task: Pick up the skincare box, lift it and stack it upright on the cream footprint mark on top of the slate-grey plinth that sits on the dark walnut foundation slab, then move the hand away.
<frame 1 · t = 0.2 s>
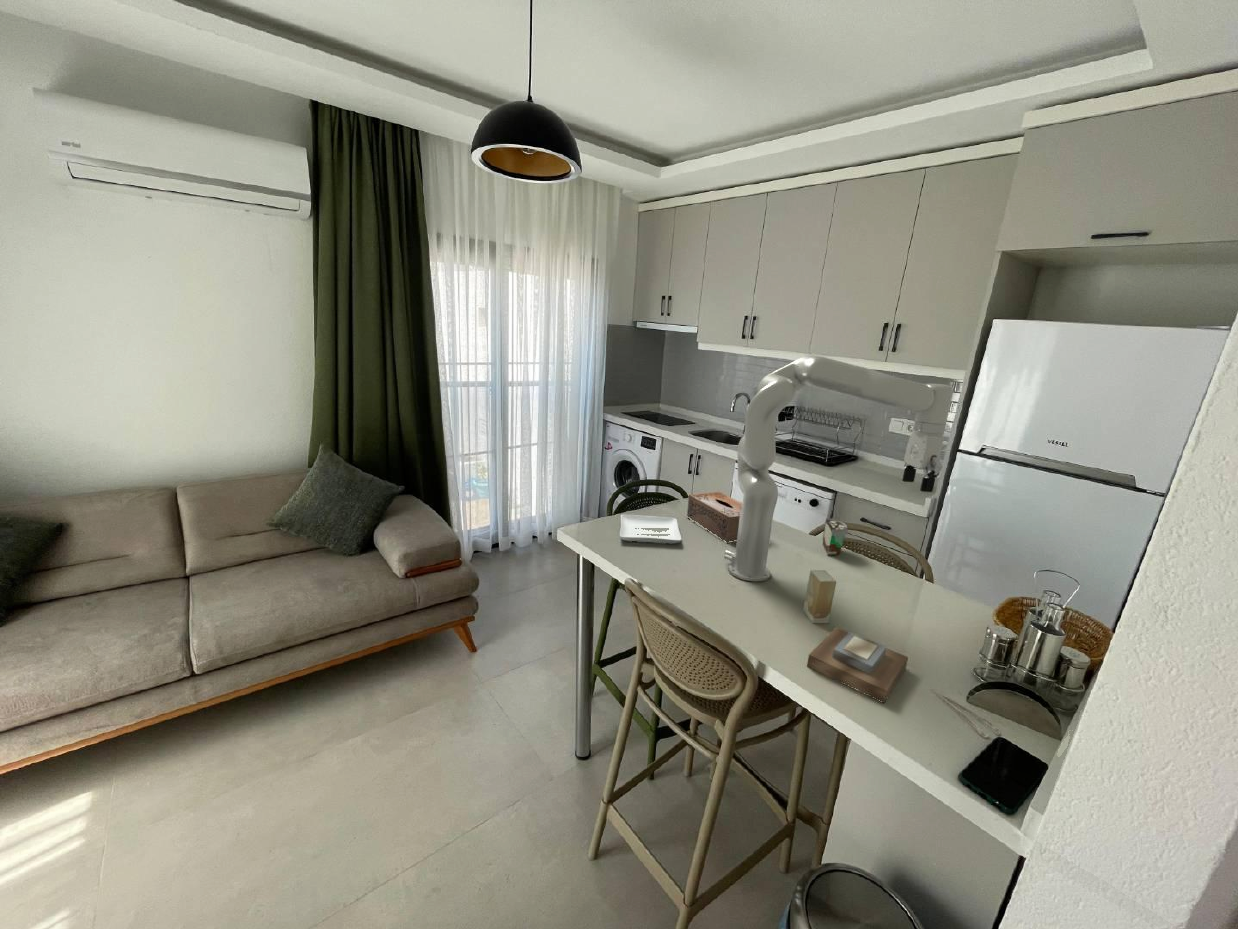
hand: (916, 486, 147), 31 cm above the breakfast bar, tool pointing down, fingers open, 9 cm apart
tweezers: (950, 708, 103), on the breakfast bar
salad plate: (649, 535, 182), on the breakfast bar
food container: (834, 552, 176), on the breakfast bar
foundation: (856, 667, 113), on the breakfast bar
tissue box cover: (721, 529, 192), on the breakfast bar
skincare box: (815, 618, 133), on the breakfast bar
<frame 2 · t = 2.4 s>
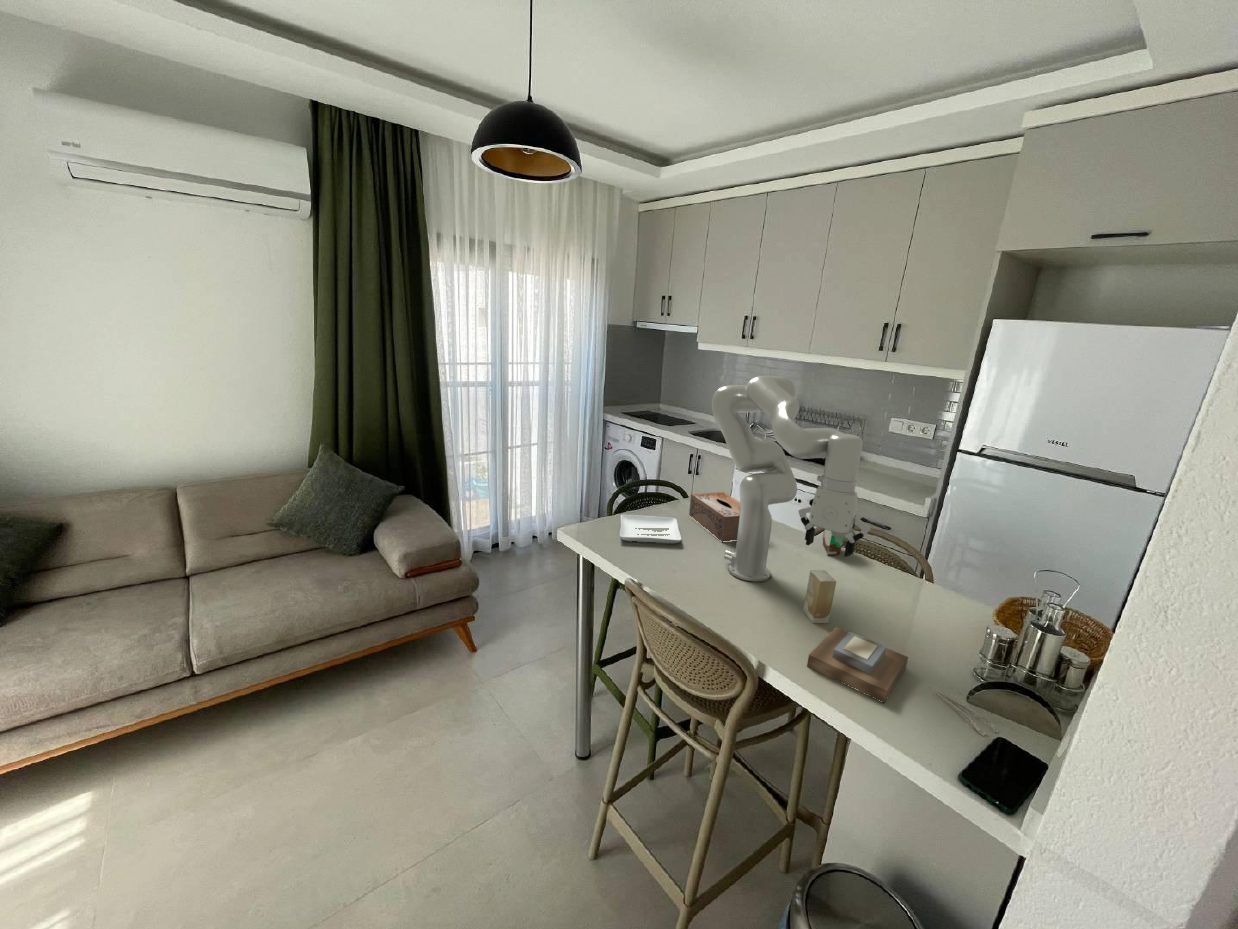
hand: (828, 549, 128), 19 cm above the breakfast bar, tool pointing down, fingers open, 9 cm apart
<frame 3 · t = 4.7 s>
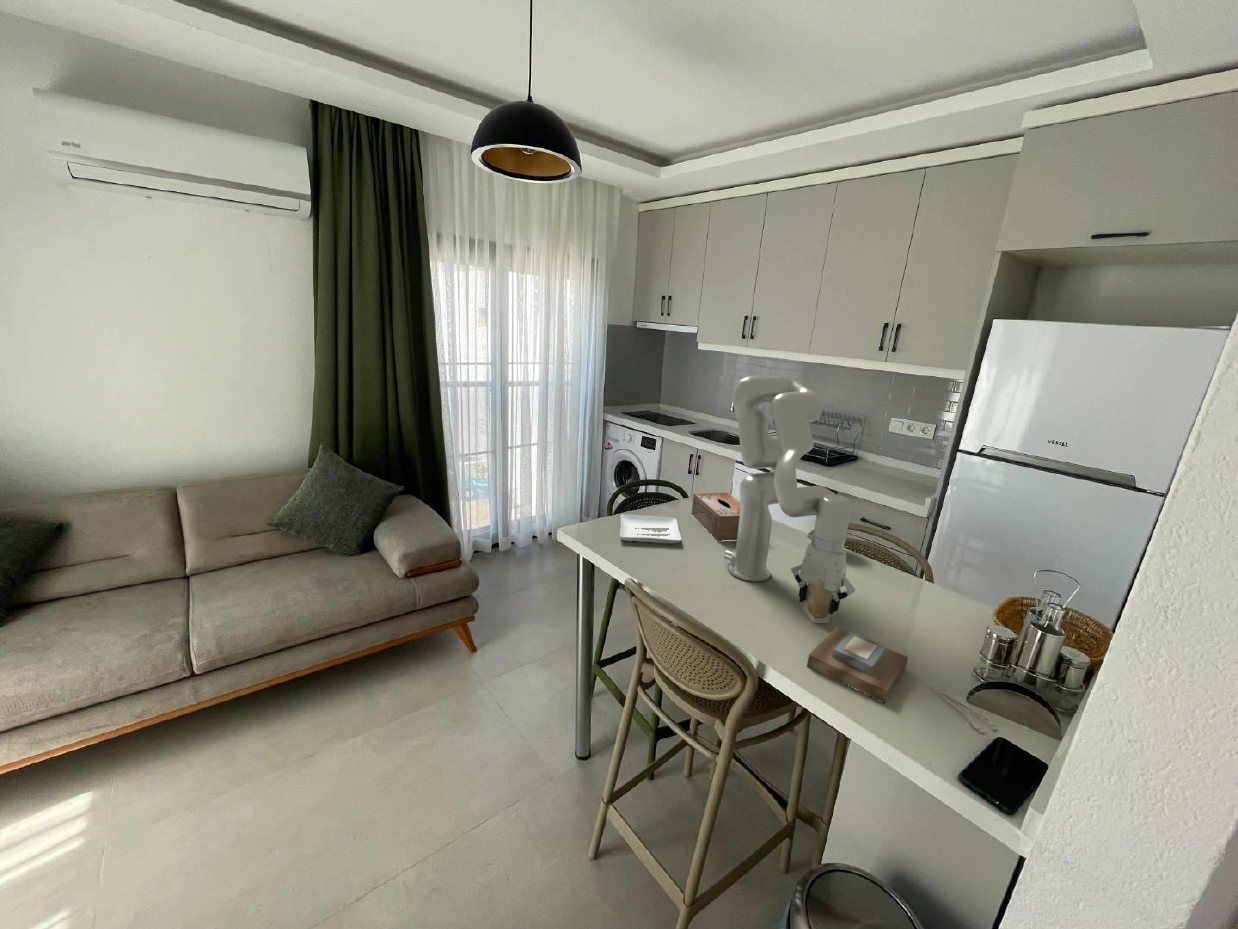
hand: (817, 606, 132), 3 cm above the breakfast bar, tool pointing down, fingers closed on skincare box, 7 cm apart
skincare box: (815, 618, 133), on the breakfast bar, touching gripper
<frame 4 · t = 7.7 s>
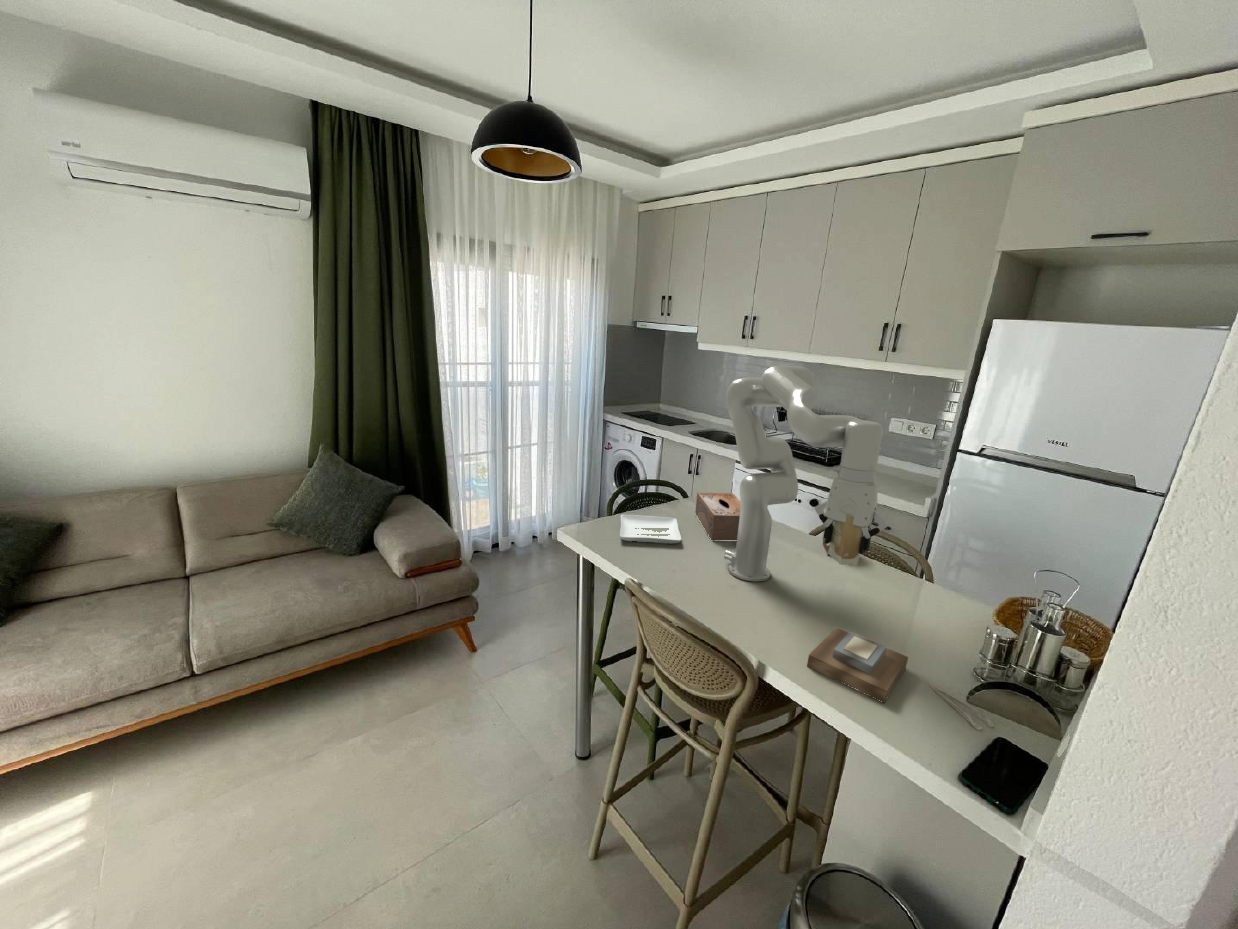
hand: (845, 546, 120), 23 cm above the breakfast bar, tool pointing down, fingers closed on skincare box, 7 cm apart
skincare box: (842, 560, 121), point 20 cm above the breakfast bar, touching gripper
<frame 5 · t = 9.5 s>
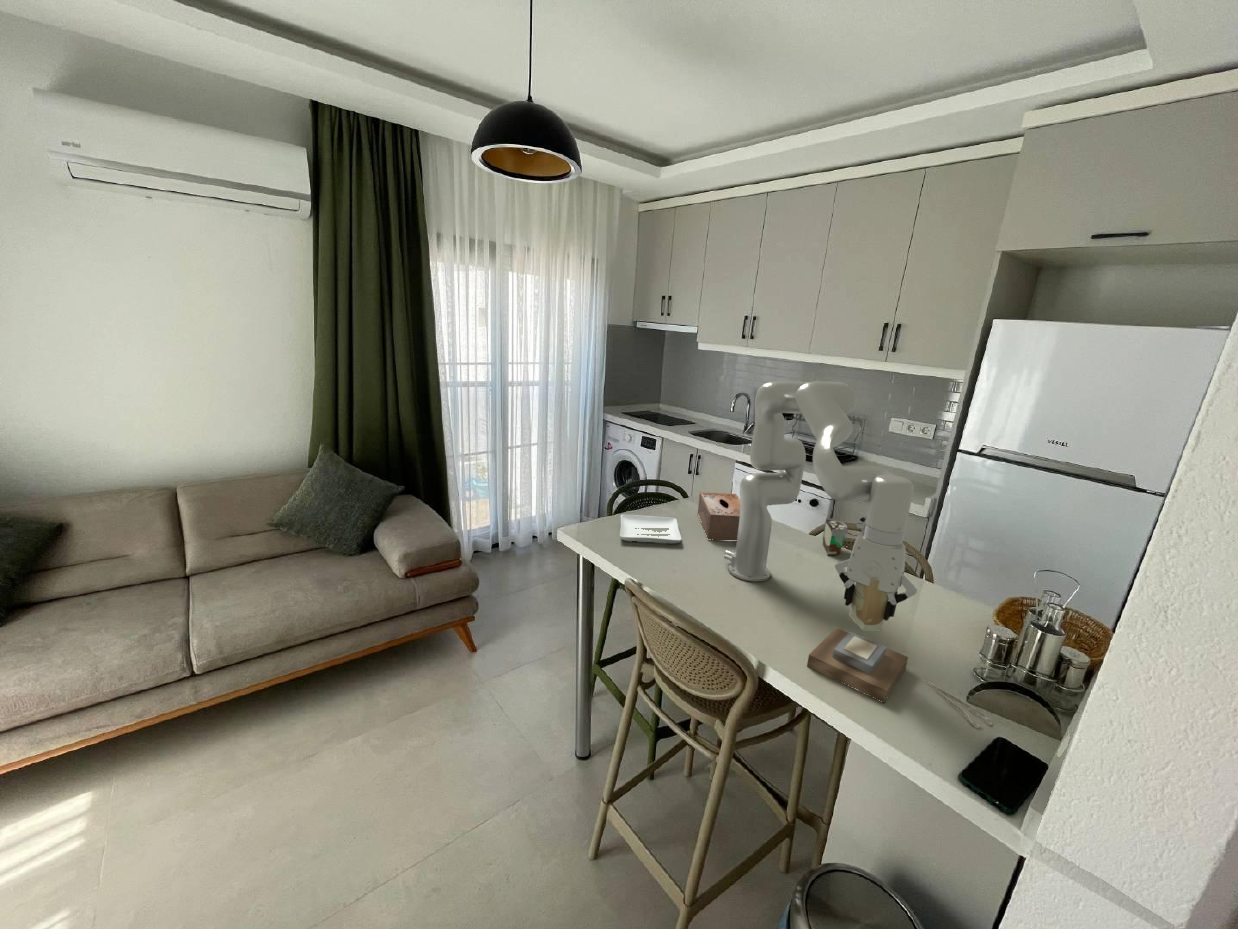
hand: (867, 610, 110), 14 cm above the breakfast bar, tool pointing down, fingers closed on skincare box, 7 cm apart
skincare box: (864, 624, 110), point 11 cm above the breakfast bar, touching gripper
when the fingers open (10 cm above the breakfast bar, at t = 11.0 s): skincare box drops 1 cm, resting on foundation.
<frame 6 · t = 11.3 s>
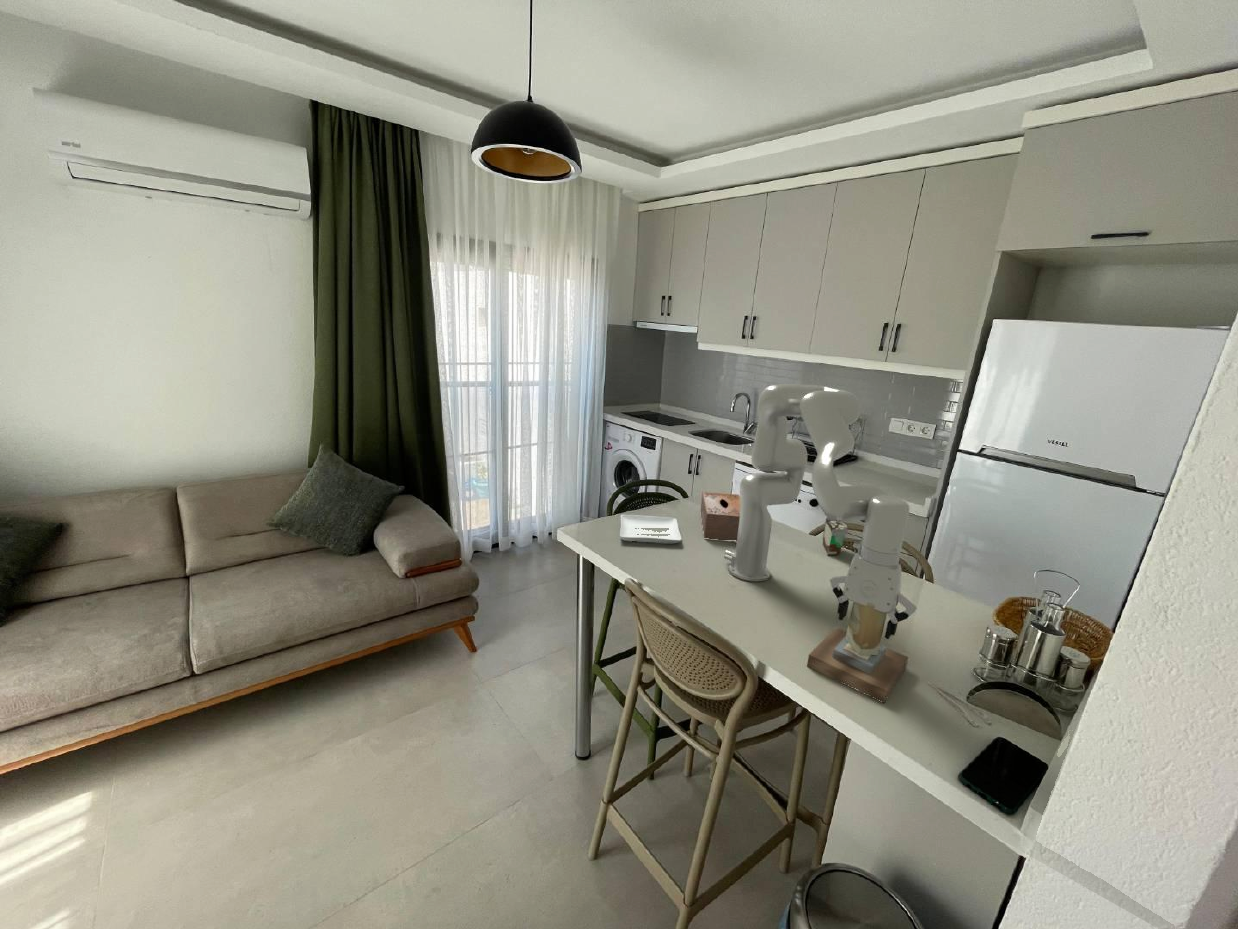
hand: (864, 626, 110), 10 cm above the breakfast bar, tool pointing down, fingers open, 9 cm apart
skincare box: (861, 648, 112), point 5 cm above the breakfast bar, touching foundation
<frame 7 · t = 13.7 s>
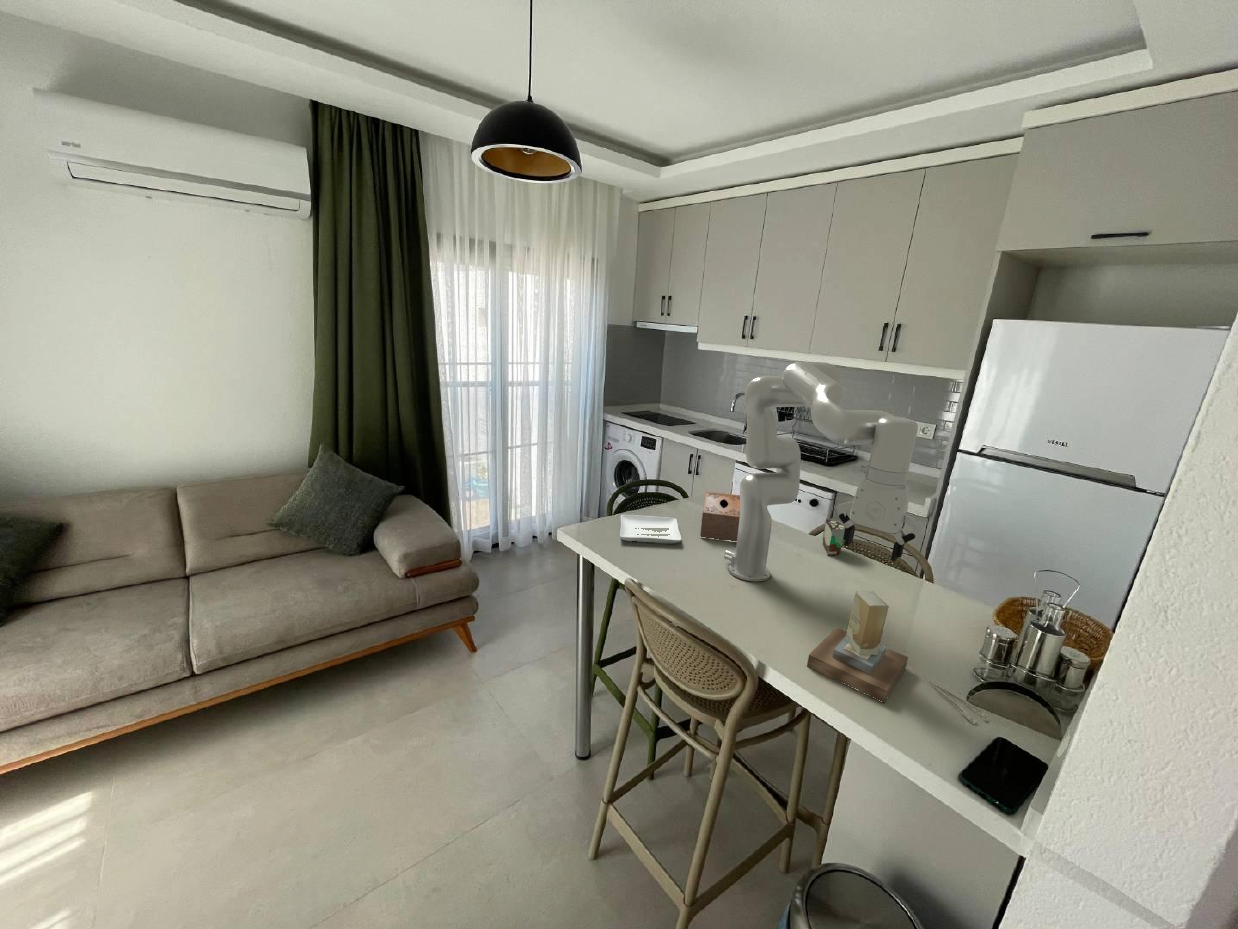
hand: (870, 551, 110), 26 cm above the breakfast bar, tool pointing down, fingers open, 9 cm apart
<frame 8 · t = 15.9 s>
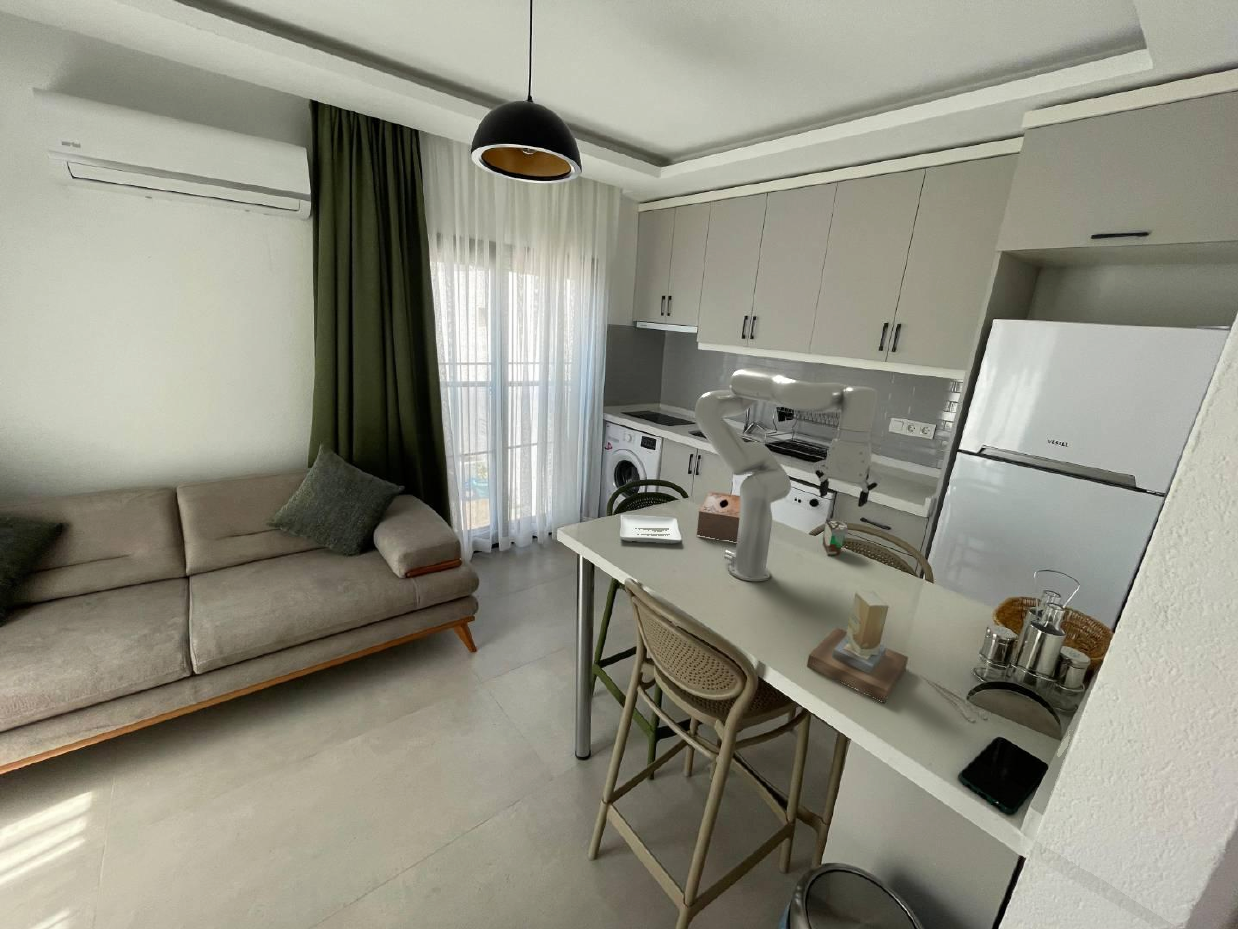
hand: (841, 500, 132), 30 cm above the breakfast bar, tool pointing down, fingers open, 9 cm apart
at the end: skincare box inside the target area on the foundation (0.1 cm from its centre), point 5.0 cm above the foundation's base; skincare box tilted 0°; the gripper is holding nothing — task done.
